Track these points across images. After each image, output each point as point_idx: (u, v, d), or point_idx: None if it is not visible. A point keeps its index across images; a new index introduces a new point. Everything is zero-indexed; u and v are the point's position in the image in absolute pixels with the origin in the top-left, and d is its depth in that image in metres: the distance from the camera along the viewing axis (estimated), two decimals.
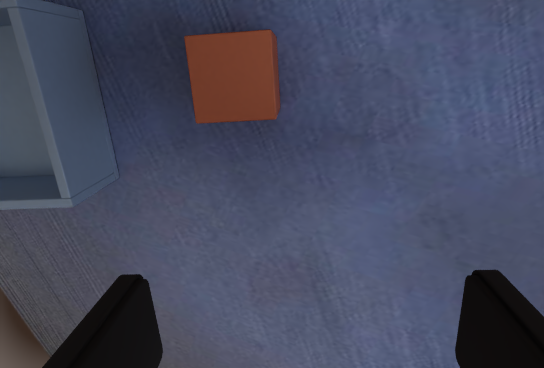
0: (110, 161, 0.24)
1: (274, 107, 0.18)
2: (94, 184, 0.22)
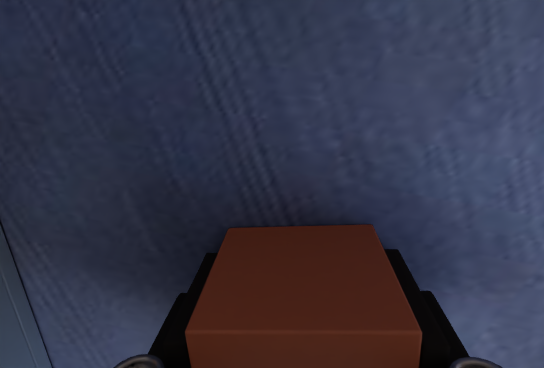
0: None
1: None
2: None
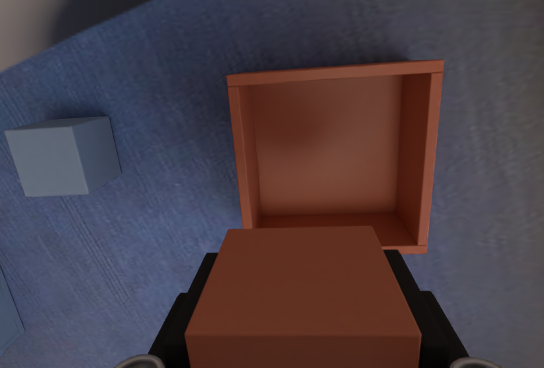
0: (14, 325, 0.32)
1: None
2: None
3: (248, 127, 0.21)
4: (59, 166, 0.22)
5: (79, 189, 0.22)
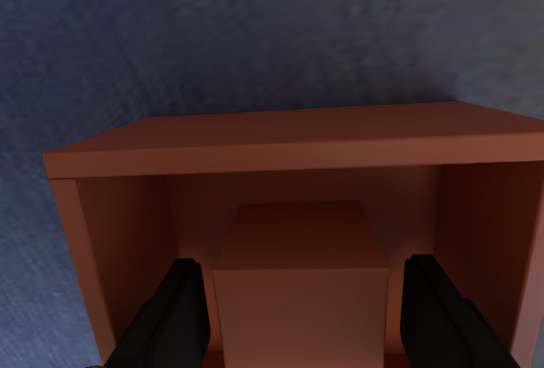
0: None
1: None
2: None
3: (139, 235, 0.11)
4: None
5: None
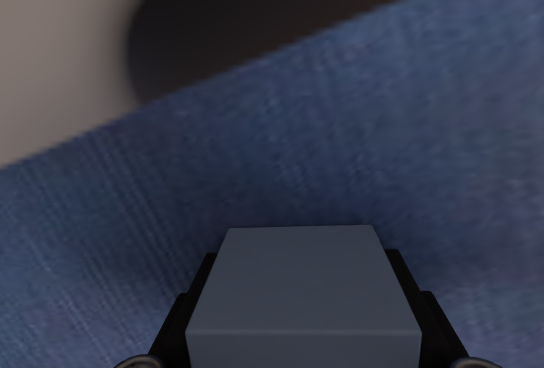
0: None
1: None
2: None
3: None
4: None
5: None
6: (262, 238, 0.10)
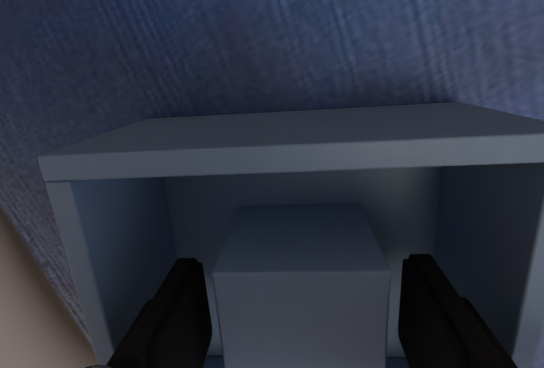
0: None
1: None
2: None
3: None
4: (331, 351, 0.09)
5: None
6: (268, 213, 0.12)
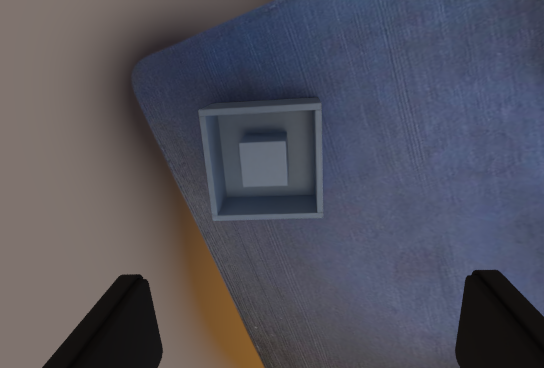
0: None
1: None
2: None
3: None
4: (271, 166, 0.33)
5: (282, 182, 0.33)
6: (255, 134, 0.36)
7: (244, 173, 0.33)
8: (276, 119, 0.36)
